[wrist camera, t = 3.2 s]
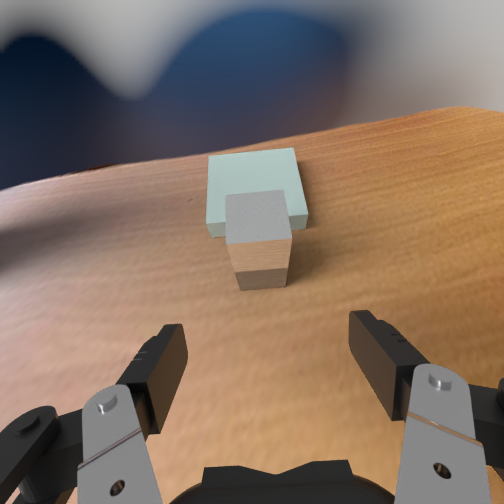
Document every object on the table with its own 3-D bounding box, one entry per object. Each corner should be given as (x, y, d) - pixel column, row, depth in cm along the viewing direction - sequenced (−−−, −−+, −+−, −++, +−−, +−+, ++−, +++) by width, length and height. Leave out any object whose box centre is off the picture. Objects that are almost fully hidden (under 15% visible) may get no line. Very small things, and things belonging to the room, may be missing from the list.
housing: (240, 290, 26) (225, 244, 18) (239, 252, 29) (225, 194, 20) (285, 287, 26) (292, 238, 17) (279, 248, 29) (283, 189, 20)
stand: (211, 237, 30) (205, 223, 27) (213, 172, 36) (209, 155, 33) (305, 229, 30) (308, 214, 27) (291, 164, 36) (293, 147, 33)
